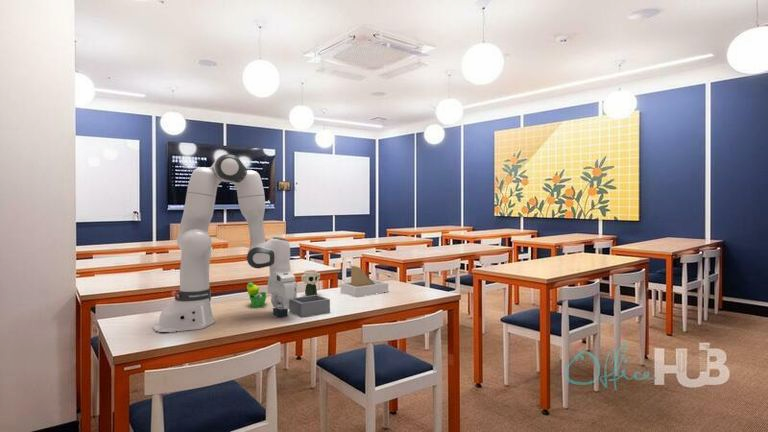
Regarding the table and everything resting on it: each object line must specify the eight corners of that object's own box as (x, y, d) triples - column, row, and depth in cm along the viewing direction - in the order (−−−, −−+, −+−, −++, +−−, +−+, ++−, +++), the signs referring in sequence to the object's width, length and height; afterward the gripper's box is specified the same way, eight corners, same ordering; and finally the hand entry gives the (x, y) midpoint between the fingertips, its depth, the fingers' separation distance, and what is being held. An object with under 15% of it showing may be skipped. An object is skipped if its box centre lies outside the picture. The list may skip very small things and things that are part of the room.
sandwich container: (383, 292, 250) (383, 264, 250) (359, 295, 242) (358, 267, 241) (375, 289, 258) (374, 262, 257) (351, 292, 249) (350, 265, 249)
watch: (291, 315, 200) (291, 290, 200) (274, 318, 195) (274, 292, 195) (286, 313, 205) (285, 288, 204) (269, 316, 200) (268, 290, 199)
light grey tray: (355, 297, 237) (355, 287, 237) (340, 292, 249) (340, 283, 249) (388, 292, 249) (388, 283, 249) (372, 287, 261) (372, 279, 261)
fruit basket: (266, 307, 215) (266, 283, 215) (246, 308, 213) (246, 284, 212) (265, 302, 226) (265, 279, 226) (247, 303, 224) (246, 280, 223)
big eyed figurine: (305, 298, 235) (305, 272, 234) (298, 295, 240) (298, 271, 240) (323, 295, 242) (323, 270, 241) (316, 293, 247) (316, 269, 247)
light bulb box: (288, 308, 213) (288, 285, 212) (274, 308, 214) (274, 285, 214) (297, 303, 223) (297, 281, 223) (284, 302, 225) (284, 281, 224)
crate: (301, 317, 197) (301, 303, 197) (289, 311, 207) (289, 298, 206) (329, 312, 205) (329, 299, 205) (317, 307, 215) (316, 294, 215)
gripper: (263, 272, 206) (264, 303, 206) (283, 278, 189) (283, 312, 190) (277, 271, 209) (277, 301, 210) (297, 277, 193) (297, 309, 194)
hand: (280, 306), depth 200 cm, fingers open, 8 cm apart
